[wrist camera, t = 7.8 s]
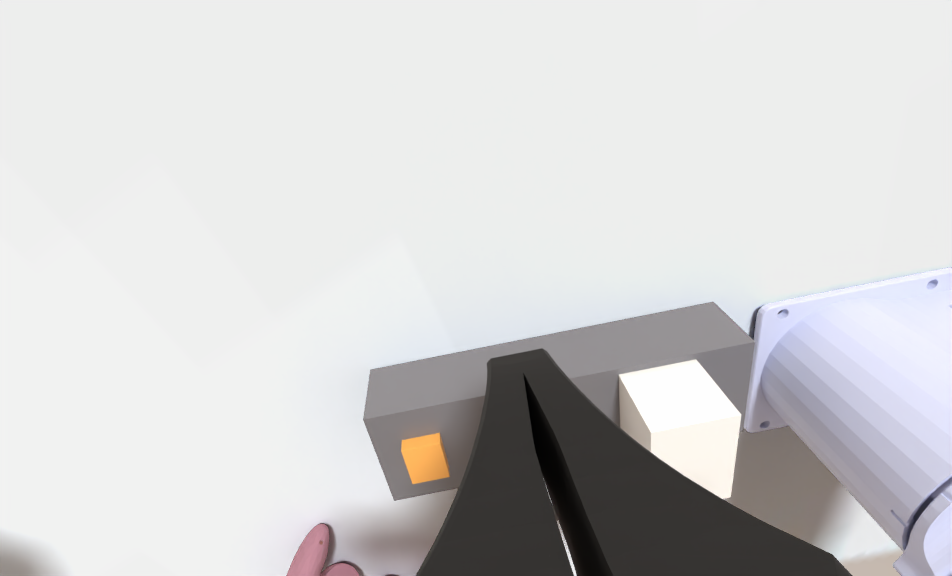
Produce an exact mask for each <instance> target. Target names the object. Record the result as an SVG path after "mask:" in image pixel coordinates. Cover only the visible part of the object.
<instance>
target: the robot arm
mask: <svg viewBox="0 0 952 576" xmlns="http://www.w3.org/2000/svg"><path fill="white" fill-rule="evenodd" d="M781 310H782V312H780V311H781ZM779 312H780V313H779ZM778 313H779V314H778ZM754 341H755V346H754V353H753V361H752V368H751V376H750V383H749V390H748V398H747V405H746V413H745V420H744V428H745V429H746V431H747V432H749V433H756V432H761V431H766V430H771V429H776V428H781V427H786V426H789V427H790V428H791V429H792V430H793V431H794V432H795V433H796V434H797V435H798V437H799V438H800V439H801V440H802V441H803V442H804V443H805V444H806V445H807V446H808V448H809V449H810V450H811V451H812V452H813V453H814V454H815V455H816V456H817V457H818V459H819V460H820V461H821V462H822V463H823V464H824V465H825V466H826V467H827V468H828V469H829V471H830V472H831V473H832V474H833V475H834V476H835V477H836V478H837V479H838V480H839V482H840V483H841V484H842V485H843V486H844V487H845V488H846V489H847V490H848V491H849V493H850V494H851V495H852V496H853V497H854V498H855V499H856V500H857V501H858V502H859V504H860V505H861V506H862V507H863V508H864V509H865V510H866V511H867V512H868V513H869V515H870V516H871V517H872V518H873V519H874V520H875V521H876V522H877V523H878V524H879V526H880V527H881V528H882V529H883V530H884V531H885V532H886V533H887V534H888V535H889V537H890V538H891V539H892V540H893V541H894V542H895V543H896V544H897V545H898V546H899V548H900V549H901V550H902V551H903V552H904V553H903V554H902V555H901V556H900V557H899V558H898V559H897V560H896V561H895V562H894V563H893V567H894V568H895V569H896V570H897V572H898V573H899V574H900V575H901V576H952V267H949V268H944V269H939V270H934V271H929V272H924V273H919V274H914V275H908V276H903V277H898V278H893V279H888V280H883V281H878V282H873V283H868V284H863V285H858V286H853V287H848V288H843V289H838V290H833V291H828V292H823V293H818V294H813V295H808V296H803V297H798V298H793V299H788V300H782V301H777V302H772V303H768V304H765V305H764V306H762V307H761V308H760V309H759V310H758V313H757V318H756V326H755V333H754ZM543 478H544V479H543ZM544 481H545V482H544ZM545 484H546V485H545ZM546 486H547V489H548V492H549V495H550V498H551V500H552V503H553V506H554V509H555V511H556V514H557V517H558V520H559V523H560V525H561V528H562V531H563V534H564V537H565V539H566V542H567V545H568V548H569V551H570V554H571V557H572V560H573V564H574V567H575V570H576V574H577V576H852V575H851V574H850V573H849V572H848V571H847V570H846V569H845V568H844V566H843V565H842V564H841V563H840V562H839V561H838V560H837V559H836V558H835V557H834V556H833V555H832V554H830V553H828V552H826V551H824V550H822V549H820V548H817V547H815V546H813V545H811V544H809V543H807V542H805V541H803V540H800V539H798V538H796V537H794V536H792V535H790V534H788V533H786V532H784V531H781V530H779V529H777V528H775V527H773V526H771V525H769V524H767V523H765V522H763V521H761V520H759V519H757V518H755V517H753V516H752V515H750V514H748V513H746V512H744V511H742V510H741V509H739V508H737V507H735V506H733V505H731V504H730V503H728V502H726V501H725V500H723V499H721V498H720V497H718V496H717V495H715V494H713V493H712V492H710V491H708V490H707V489H705V488H703V487H702V486H700V485H699V484H697V483H695V482H694V481H692V480H690V479H689V478H687V477H686V476H684V475H682V474H681V473H679V472H678V471H677V470H675V469H674V468H672V467H671V466H669V465H668V464H667V463H665V462H664V461H662V460H661V459H659V458H658V457H657V456H655V455H654V454H653V453H651V452H650V451H649V450H647V449H646V448H645V447H643V446H642V445H641V444H639V443H638V442H637V441H636V440H634V439H633V438H632V437H631V436H629V435H628V434H627V433H626V432H625V431H623V430H622V429H621V428H620V427H619V426H618V425H616V424H615V423H614V422H613V421H612V420H611V419H610V418H608V417H607V416H606V415H605V414H604V413H603V412H602V411H601V410H600V409H599V408H598V407H596V406H595V405H594V404H593V403H592V402H591V401H590V400H589V399H588V398H587V397H586V396H585V395H584V394H583V393H582V392H581V391H580V390H579V389H578V388H577V386H576V385H575V384H574V383H573V382H572V381H571V380H570V379H569V378H568V377H567V376H566V374H565V373H564V372H563V371H562V370H561V369H560V367H559V366H558V365H557V364H556V363H555V361H554V360H553V359H552V357H551V356H550V355H549V353H548V352H547V351H546V350H544V349H543V348H541V349H536V350H531V351H526V352H521V353H516V354H510V355H505V356H500V357H495V358H491V359H490V360H489V361H488V362H487V384H486V392H485V399H484V404H483V409H482V414H481V419H480V423H479V427H478V431H477V435H476V438H475V442H474V445H473V448H472V452H471V455H470V459H469V462H468V464H467V467H466V470H465V473H464V476H463V479H462V481H461V484H460V486H459V489H458V491H457V494H456V496H455V499H454V501H453V503H452V505H451V508H450V510H449V512H448V514H447V517H446V519H445V521H444V523H443V526H442V528H441V530H440V532H439V534H438V536H437V538H436V540H435V542H434V544H433V546H432V547H431V549H430V551H429V553H428V555H427V556H426V558H425V560H424V562H423V564H422V566H421V567H420V569H419V571H418V573H417V575H416V576H574V575H573V572H572V569H571V566H570V563H569V559H568V556H567V553H566V550H565V547H564V544H563V541H562V537H561V534H560V531H559V528H558V525H557V522H556V518H555V515H554V512H553V509H552V505H551V502H550V499H549V495H548V492H547V489H546Z"/></svg>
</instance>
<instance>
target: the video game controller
mask: <svg viewBox="0 0 952 576" xmlns="http://www.w3.org/2000/svg"><path fill="white" fill-rule="evenodd" d="M328 546H329V529H328V527H327V525H325V524H318V525H317V526H315V527H314V528H313V529H312V530H311V531H310V532H309V533H308V535H307V536H306V537H305V539H304V540H303V542H302V544H301V545H300V547H299V549H298V551H297V553H296V555H295V556H294V559H293V561H292V564H291V566H290V568H289V571H288V573H287V575H286V576H359V574H358V572H357V571H356V570H355V568H353V567H352V566H351V565H348V564H345V563H337V564H333V565H331V566H329V567H327V568H326V569H325V570H324V571H323V572H322V573H321V571H322V569H323V566H324V563H325V560H326V557H327V553H328Z"/></svg>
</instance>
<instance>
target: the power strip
mask: <svg viewBox="0 0 952 576" xmlns="http://www.w3.org/2000/svg"><path fill="white" fill-rule="evenodd" d="M754 346H755V341H754V340H753V339H752V338H751V337H750V336H749V335H748V334H747V333H745V332H744V331H743V330H742V329H741V328H740V327H739V326H738V325H737V324H736V323H735V322H734V321H733V320H732V319H731V318H730V317H729V316H728V315H727V314H726V313H725V312H724V311H723V310H721V309H720V308H719V307H718V306H717V305H716V304H715V303H714V302H710V303H705V304H700V305H695V306H690V307H685V308H680V309H675V310H670V311H665V312H660V313H655V314H650V315H645V316H640V317H634V318H629V319H624V320H619V321H614V322H609V323H604V324H599V325H594V326H589V327H584V328H579V329H574V330H569V331H564V332H559V333H554V334H549V335H544V336H539V337H534V338H529V339H524V340H518V341H513V342H508V343H503V344H498V345H493V346H488V347H483V348H478V349H473V350H468V351H463V352H458V353H453V354H448V355H443V356H438V357H433V358H428V359H423V360H418V361H413V362H408V363H402V364H397V365H392V366H387V367H382V368H377V369H372V370H370V376H369V383H368V390H367V397H366V404H365V411H364V418H363V420H364V423H365V425H366V428H367V431H368V433H369V436H370V438H371V441H372V444H373V446H374V449H375V452H376V454H377V457H378V459H379V462H380V465H381V467H382V470H383V472H384V475H385V478H386V480H387V483H388V486H389V488H390V491H391V493H392V496H393V499H394V501H395V500H400V499H405V498H410V497H415V496H420V495H425V494H430V493H435V492H440V491H445V490H450V489H455V488H459V486H460V484H461V481H462V479H463V476H464V473H465V470H466V467H467V464H468V462H469V459H470V455H471V452H472V448H473V445H474V442H475V438H476V435H477V431H478V427H479V423H480V419H481V414H482V409H483V404H484V399H485V392H486V384H487V362H488V361H489V360H490V359H491V358H495V357H500V356H505V355H510V354H516V353H521V352H526V351H531V350H536V349H541V348H543V349H544V350H546V351H547V352H548V353H549V355H550V356H551V357H552V359H553V360H554V361H555V363H556V364H557V365H558V366H559V367H560V369H561V370H562V371H563V372H564V373H565V374H566V376H567V377H568V378H569V379H570V380H571V381H572V382H573V383H574V384H575V385H576V386H577V388H578V389H579V390H580V391H581V392H582V393H583V394H584V395H585V396H586V397H587V398H588V399H589V400H590V401H591V402H592V403H593V404H594V405H595V406H596V407H598V408H599V409H600V410H601V411H602V412H603V413H604V414H605V415H606V416H607V417H608V418H610V419H611V420H612V421H613V422H614V423H615V424H616V425H618V426H619V427H620V428H621V429H622V430H623V431H625V432H626V433H627V434H628V435H629V436H631V437H632V438H633V439H634V440H636V441H637V442H638V443H639V444H641V445H642V446H643V447H645V448H646V449H647V450H649V451H650V452H651V453H653V454H654V455H655V456H657V457H658V458H659V459H661V460H662V461H664V462H665V463H667V464H668V465H669V466H671V467H672V468H674V469H675V470H677V471H678V472H679V473H681V474H682V475H684V476H686V477H687V478H689V479H690V480H692V481H694V482H695V483H697V484H699V485H700V486H702V487H703V488H705V489H707V490H708V491H710V492H712V493H713V494H715V495H717V496H718V497H720V498H721V499H725V498H730V497H731V491H732V483H733V476H734V468H735V460H736V452H737V445H738V437H739V432H741V431H743V427H744V420H745V413H746V405H747V398H748V390H749V383H750V376H751V368H752V361H753V353H754ZM552 509H553V512H554V515H555V518H556V521H557V520H558V517H557V514H556V511H555V509H554V506H552Z"/></svg>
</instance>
